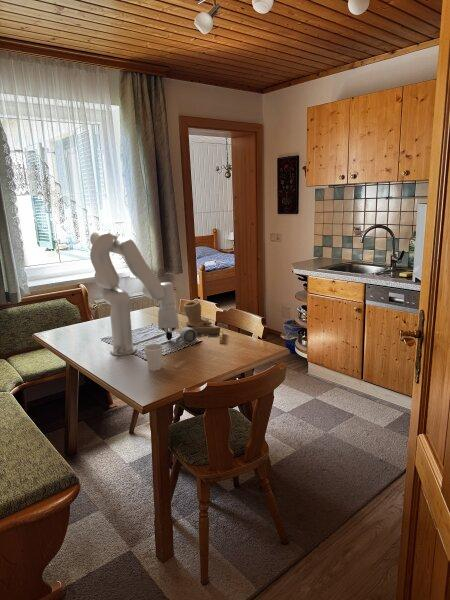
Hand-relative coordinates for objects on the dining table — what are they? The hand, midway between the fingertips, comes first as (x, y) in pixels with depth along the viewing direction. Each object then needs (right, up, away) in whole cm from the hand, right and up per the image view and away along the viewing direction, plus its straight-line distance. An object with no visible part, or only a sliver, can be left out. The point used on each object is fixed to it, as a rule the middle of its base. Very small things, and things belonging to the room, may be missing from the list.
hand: (169, 339), depth 218 cm
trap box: (+18, 0, +3) cm, 18 cm away
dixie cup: (-2, -10, -35) cm, 36 cm away
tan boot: (+13, +5, +26) cm, 30 cm away
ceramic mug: (+9, -1, 0) cm, 9 cm away
